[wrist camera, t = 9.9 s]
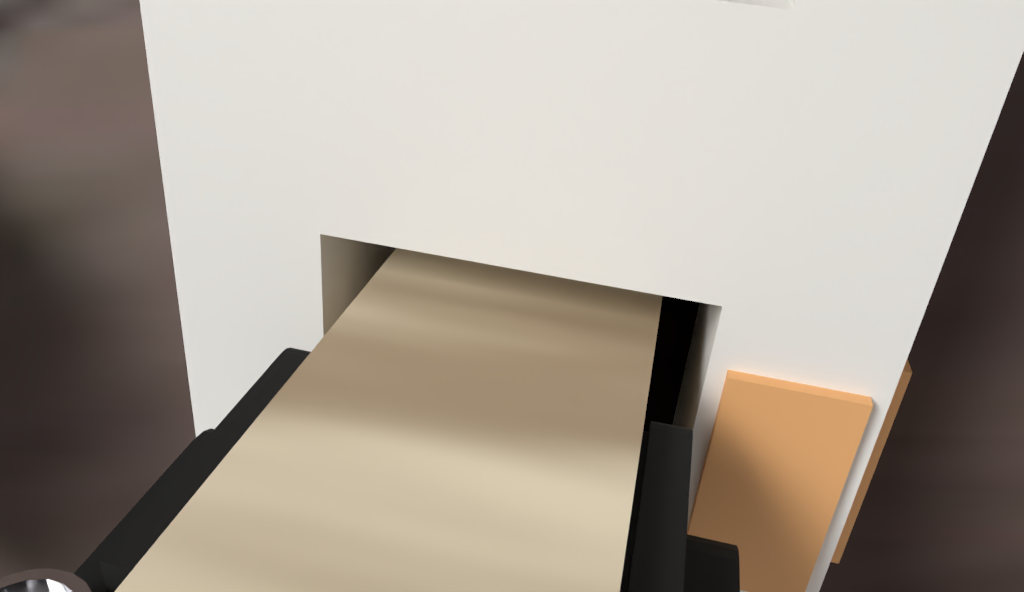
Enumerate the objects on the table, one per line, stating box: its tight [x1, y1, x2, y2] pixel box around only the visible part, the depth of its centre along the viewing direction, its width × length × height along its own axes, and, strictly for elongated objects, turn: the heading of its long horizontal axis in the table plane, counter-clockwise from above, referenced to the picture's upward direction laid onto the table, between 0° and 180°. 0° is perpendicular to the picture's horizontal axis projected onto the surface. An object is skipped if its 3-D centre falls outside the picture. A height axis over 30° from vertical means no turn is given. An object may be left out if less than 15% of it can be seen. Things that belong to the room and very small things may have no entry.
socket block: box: [140, 0, 1024, 592], centre depth 12 cm, size 18×10×4 cm, turn 175°
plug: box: [115, 248, 663, 592], centre depth 10 cm, size 4×4×10 cm
